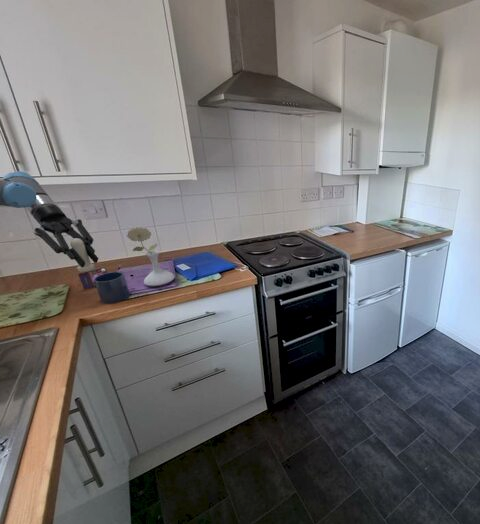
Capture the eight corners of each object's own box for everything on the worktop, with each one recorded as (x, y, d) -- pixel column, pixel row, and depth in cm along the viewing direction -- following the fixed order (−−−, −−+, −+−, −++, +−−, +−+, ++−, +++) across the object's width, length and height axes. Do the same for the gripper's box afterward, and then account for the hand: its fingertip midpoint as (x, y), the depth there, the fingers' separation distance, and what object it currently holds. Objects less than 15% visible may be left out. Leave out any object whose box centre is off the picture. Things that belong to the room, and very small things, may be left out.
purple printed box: (78, 273, 121) (105, 267, 127) (77, 274, 124) (104, 267, 130) (84, 289, 122) (111, 282, 128) (83, 289, 125) (110, 282, 131)
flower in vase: (178, 275, 135) (165, 222, 125) (170, 287, 125) (155, 229, 115) (146, 278, 132) (130, 223, 122) (135, 290, 122) (117, 231, 112)
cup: (95, 303, 112) (87, 282, 109) (111, 292, 121) (104, 272, 117) (120, 303, 113) (113, 281, 109) (134, 291, 121) (128, 271, 118)
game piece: (74, 271, 105) (62, 240, 100) (84, 266, 109) (73, 236, 105) (88, 271, 105) (77, 240, 101) (97, 266, 109) (87, 236, 105)
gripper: (72, 212, 113) (112, 260, 114) (13, 223, 99) (60, 277, 100) (75, 200, 109) (117, 249, 109) (14, 209, 95) (63, 265, 96)
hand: (90, 262), depth 105 cm, fingers closed on game piece, 3 cm apart
